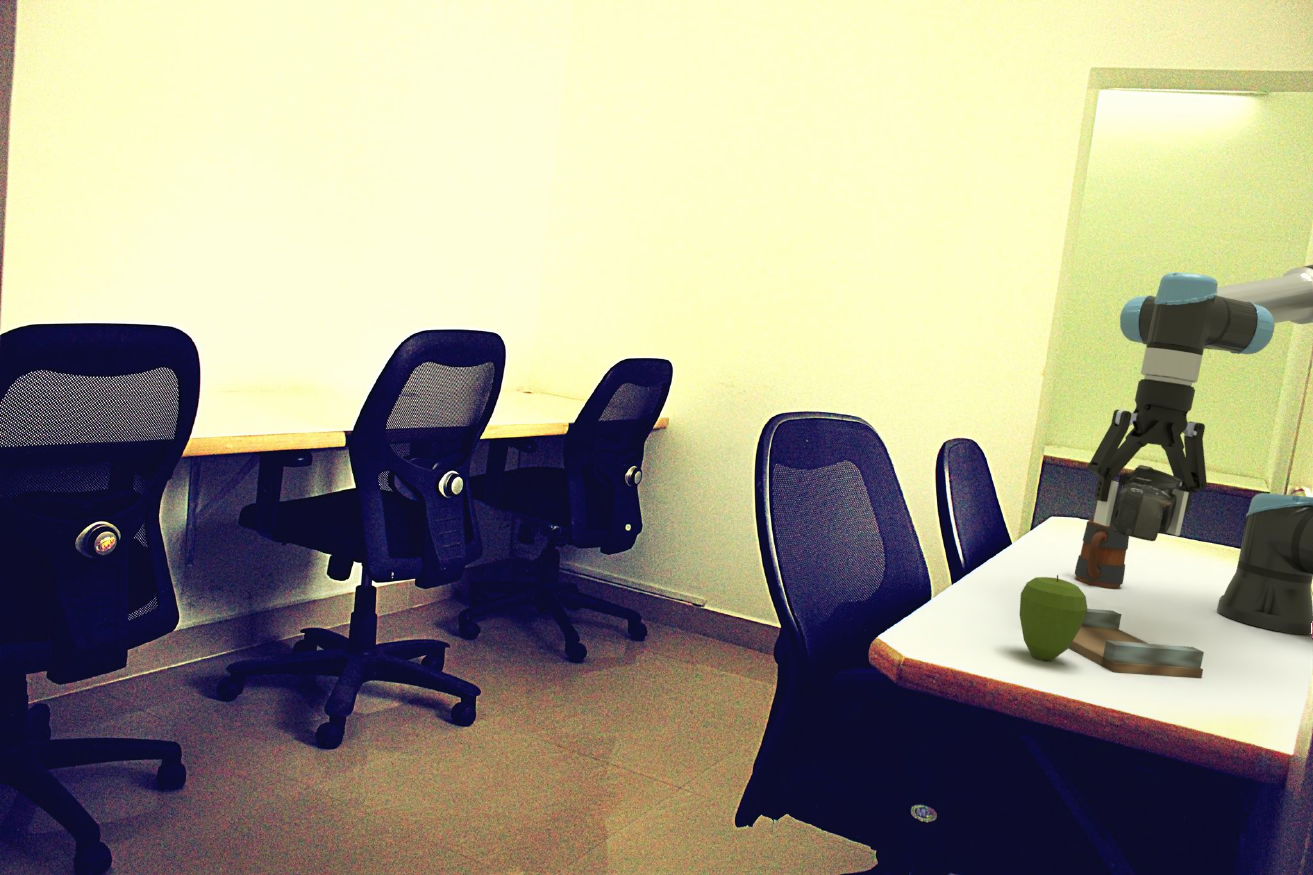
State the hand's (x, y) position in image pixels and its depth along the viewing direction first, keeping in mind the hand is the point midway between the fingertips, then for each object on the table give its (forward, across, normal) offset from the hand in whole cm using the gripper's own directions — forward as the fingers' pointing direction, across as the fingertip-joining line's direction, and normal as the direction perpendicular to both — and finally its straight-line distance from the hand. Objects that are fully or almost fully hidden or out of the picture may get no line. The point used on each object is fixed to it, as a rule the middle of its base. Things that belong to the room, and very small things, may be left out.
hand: (1136, 529), depth 155 cm
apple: (+18, +19, +11) cm, 28 cm away
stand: (+17, +4, +4) cm, 18 cm away
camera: (+1, 0, 0) cm, 1 cm away
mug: (+17, -25, -40) cm, 50 cm away
